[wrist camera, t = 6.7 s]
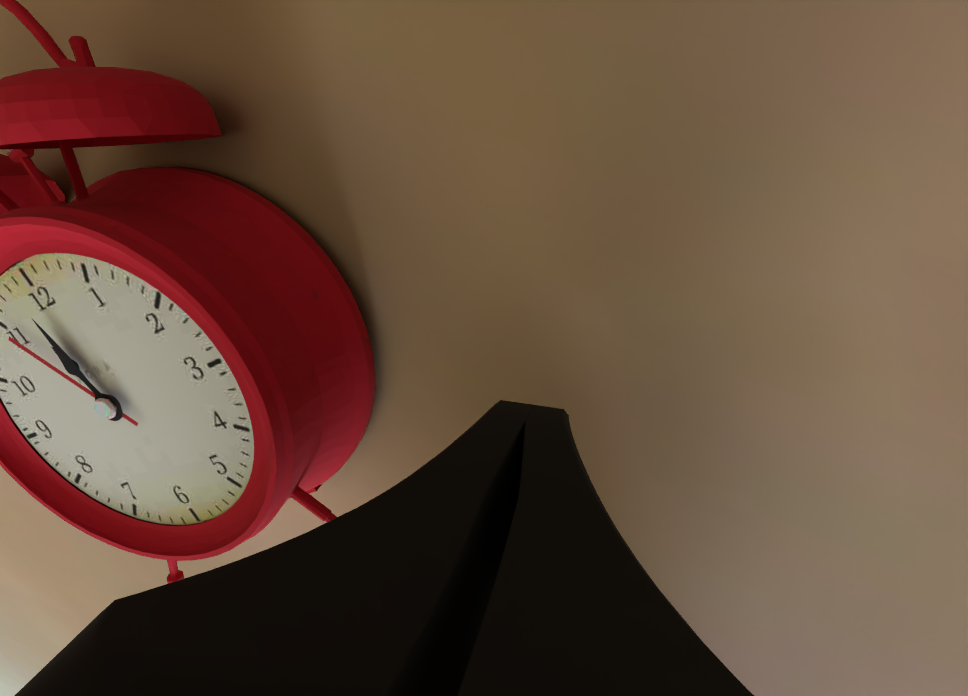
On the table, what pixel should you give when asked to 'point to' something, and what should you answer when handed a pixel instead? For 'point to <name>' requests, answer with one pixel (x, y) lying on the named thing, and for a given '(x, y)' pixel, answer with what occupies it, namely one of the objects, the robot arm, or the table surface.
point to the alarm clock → (162, 326)
